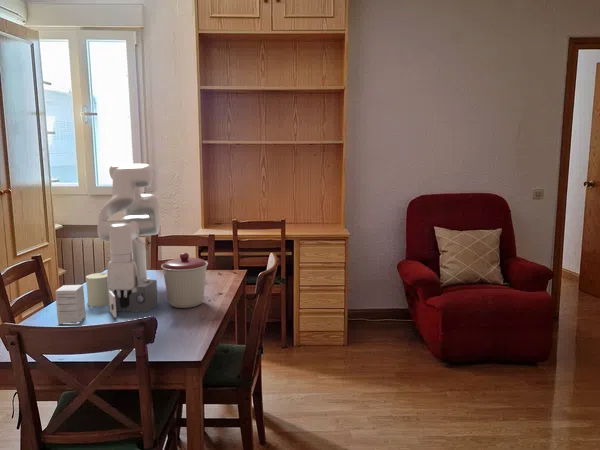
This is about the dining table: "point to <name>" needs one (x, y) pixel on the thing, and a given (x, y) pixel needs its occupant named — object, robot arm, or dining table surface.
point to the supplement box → (70, 304)
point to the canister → (185, 281)
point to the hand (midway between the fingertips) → (124, 306)
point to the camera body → (141, 297)
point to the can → (97, 289)
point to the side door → (112, 303)
